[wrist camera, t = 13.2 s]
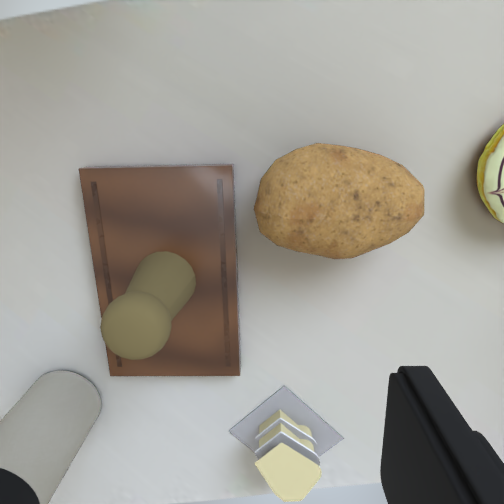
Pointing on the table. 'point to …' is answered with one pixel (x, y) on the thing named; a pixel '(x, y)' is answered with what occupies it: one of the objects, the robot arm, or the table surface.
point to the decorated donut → (492, 175)
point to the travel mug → (44, 436)
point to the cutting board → (175, 241)
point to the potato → (337, 201)
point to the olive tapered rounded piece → (148, 306)
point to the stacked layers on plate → (287, 443)
